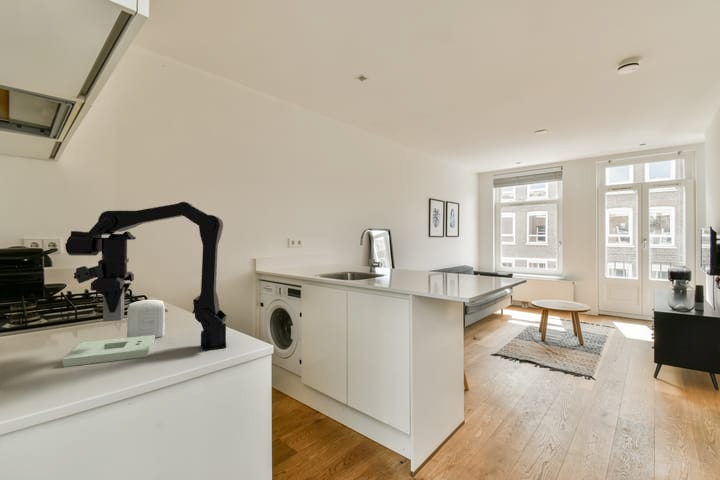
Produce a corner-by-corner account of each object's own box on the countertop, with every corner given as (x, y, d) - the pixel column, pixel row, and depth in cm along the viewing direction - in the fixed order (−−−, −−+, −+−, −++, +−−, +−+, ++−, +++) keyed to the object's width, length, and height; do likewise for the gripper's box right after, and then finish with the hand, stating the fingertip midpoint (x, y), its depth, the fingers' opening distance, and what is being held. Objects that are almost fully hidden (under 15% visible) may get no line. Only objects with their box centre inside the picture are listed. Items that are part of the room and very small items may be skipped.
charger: (124, 317, 94) (124, 289, 94) (120, 320, 91) (120, 291, 90) (107, 318, 92) (107, 290, 92) (103, 321, 89) (103, 292, 89)
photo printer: (164, 333, 110) (164, 297, 110) (165, 337, 106) (165, 299, 106) (127, 338, 104) (127, 300, 104) (126, 342, 101) (126, 302, 100)
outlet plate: (155, 339, 104) (155, 332, 104) (147, 356, 89) (147, 348, 89) (84, 346, 96) (84, 339, 96) (62, 366, 82) (62, 358, 82)
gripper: (89, 254, 96) (89, 306, 96) (64, 258, 79) (64, 321, 80) (134, 253, 101) (134, 303, 101) (119, 257, 84) (119, 317, 84)
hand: (114, 310), depth 91 cm, fingers closed on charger, 4 cm apart
